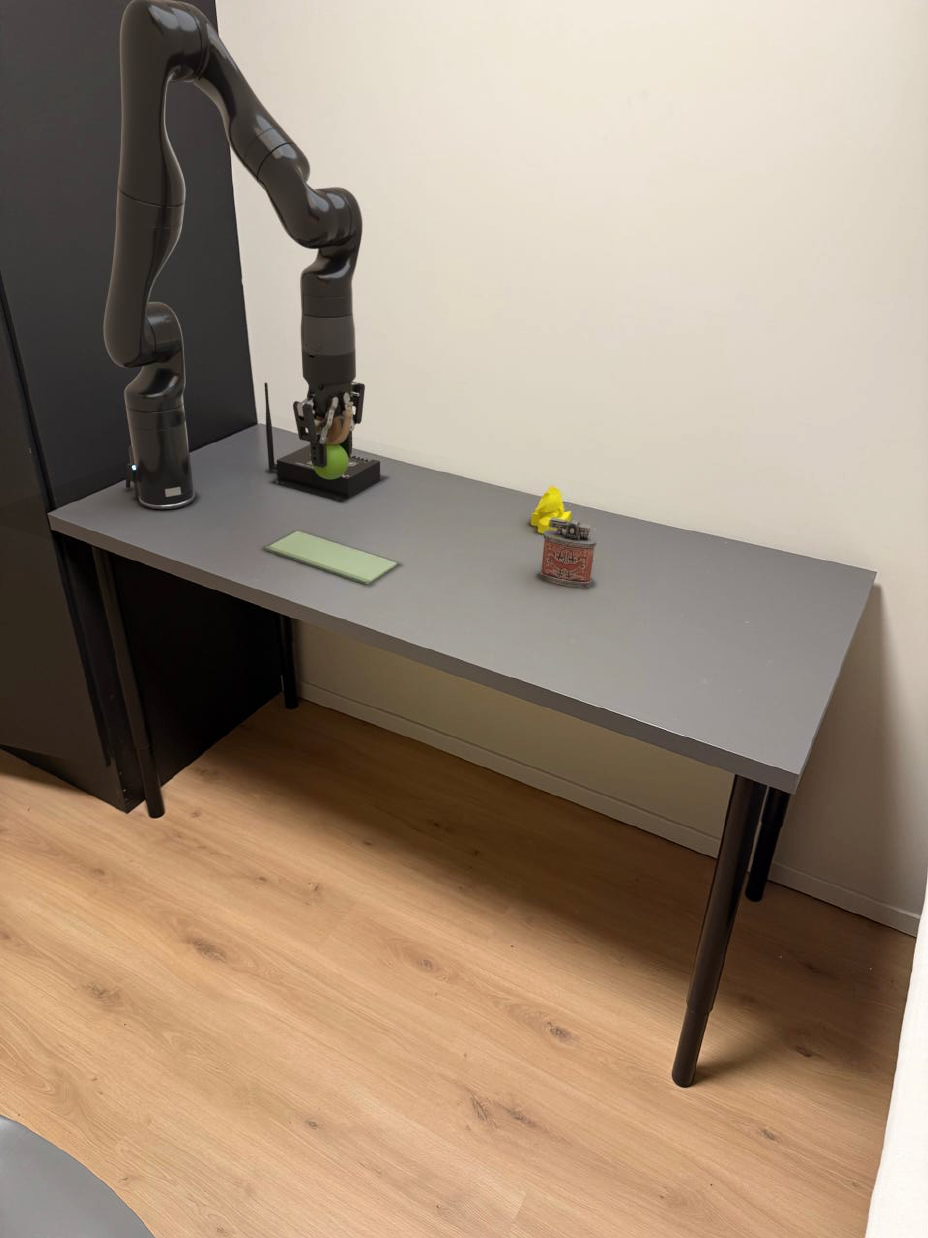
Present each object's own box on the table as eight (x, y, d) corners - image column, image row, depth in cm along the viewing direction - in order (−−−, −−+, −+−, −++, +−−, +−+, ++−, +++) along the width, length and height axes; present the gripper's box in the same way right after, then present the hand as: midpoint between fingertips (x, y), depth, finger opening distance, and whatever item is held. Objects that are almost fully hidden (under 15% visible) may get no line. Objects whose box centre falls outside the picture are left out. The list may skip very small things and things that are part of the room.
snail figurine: (348, 487, 136) (346, 408, 130) (307, 482, 137) (303, 403, 131) (359, 474, 140) (358, 397, 134) (319, 469, 141) (316, 392, 135)
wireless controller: (385, 477, 175) (385, 388, 166) (342, 502, 164) (339, 408, 156) (300, 455, 183) (296, 369, 174) (254, 477, 172) (247, 387, 164)
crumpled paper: (574, 520, 162) (578, 478, 158) (558, 537, 156) (562, 494, 152) (543, 512, 164) (547, 471, 160) (526, 529, 158) (529, 487, 154)
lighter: (593, 580, 143) (600, 521, 138) (588, 589, 140) (595, 530, 135) (542, 570, 145) (548, 512, 140) (537, 579, 142) (542, 520, 137)
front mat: (265, 550, 147) (265, 547, 147) (297, 532, 153) (297, 529, 153) (366, 584, 138) (366, 581, 138) (397, 565, 144) (397, 562, 144)
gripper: (338, 331, 135) (341, 441, 144) (273, 351, 125) (280, 468, 133) (380, 339, 132) (380, 452, 141) (317, 360, 121) (321, 480, 130)
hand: (332, 459), depth 137 cm, fingers closed on snail figurine, 5 cm apart
